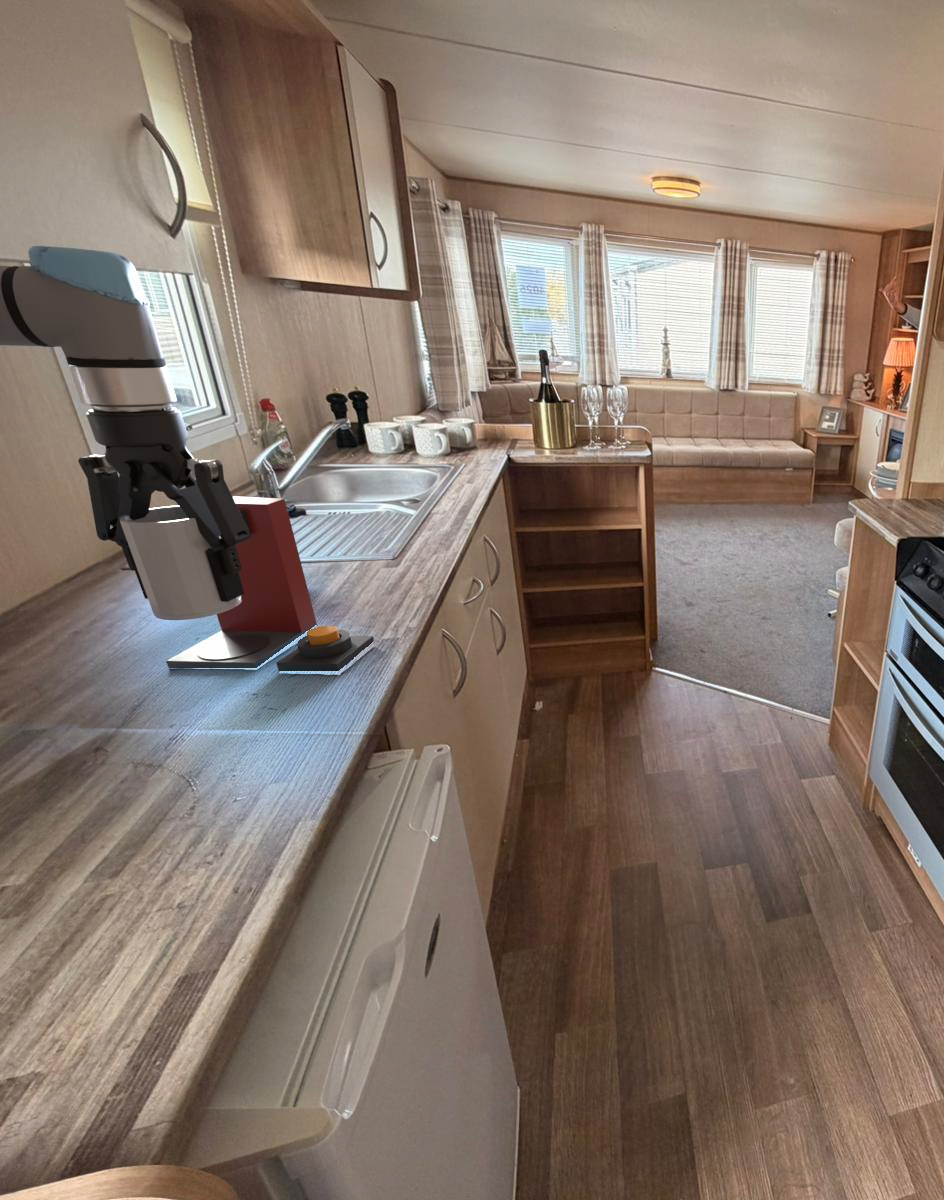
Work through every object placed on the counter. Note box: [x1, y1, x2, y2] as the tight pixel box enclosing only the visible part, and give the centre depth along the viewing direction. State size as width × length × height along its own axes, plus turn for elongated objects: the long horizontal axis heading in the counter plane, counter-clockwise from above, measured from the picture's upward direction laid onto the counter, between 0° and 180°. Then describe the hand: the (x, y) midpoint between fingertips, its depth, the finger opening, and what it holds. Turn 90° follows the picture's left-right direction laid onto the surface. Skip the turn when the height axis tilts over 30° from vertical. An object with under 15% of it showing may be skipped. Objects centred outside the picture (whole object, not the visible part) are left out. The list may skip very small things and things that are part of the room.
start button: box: [307, 625, 340, 645], centre depth 102 cm, size 4×4×2 cm
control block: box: [275, 629, 375, 672], centre depth 103 cm, size 10×9×4 cm
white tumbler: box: [119, 505, 242, 621], centre depth 77 cm, size 8×8×12 cm
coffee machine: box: [165, 496, 318, 669], centre depth 101 cm, size 15×13×24 cm
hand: (195, 595), depth 79 cm, fingers closed on white tumbler, 8 cm apart
